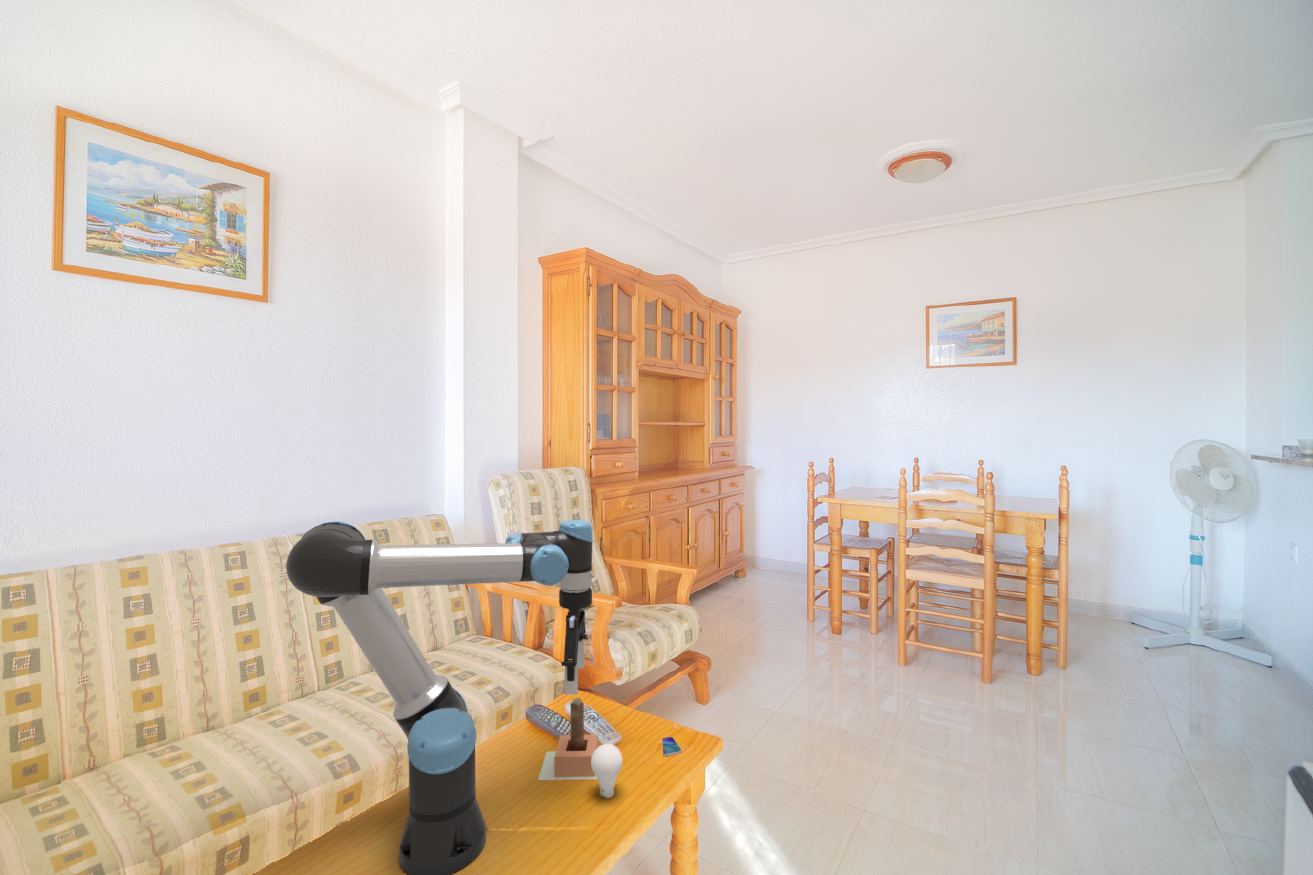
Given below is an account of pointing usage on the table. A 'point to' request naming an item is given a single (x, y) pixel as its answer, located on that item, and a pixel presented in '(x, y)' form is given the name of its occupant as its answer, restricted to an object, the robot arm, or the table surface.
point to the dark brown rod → (577, 725)
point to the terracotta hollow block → (574, 757)
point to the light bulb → (606, 767)
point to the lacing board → (548, 770)
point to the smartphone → (670, 747)
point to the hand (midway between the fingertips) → (575, 680)
